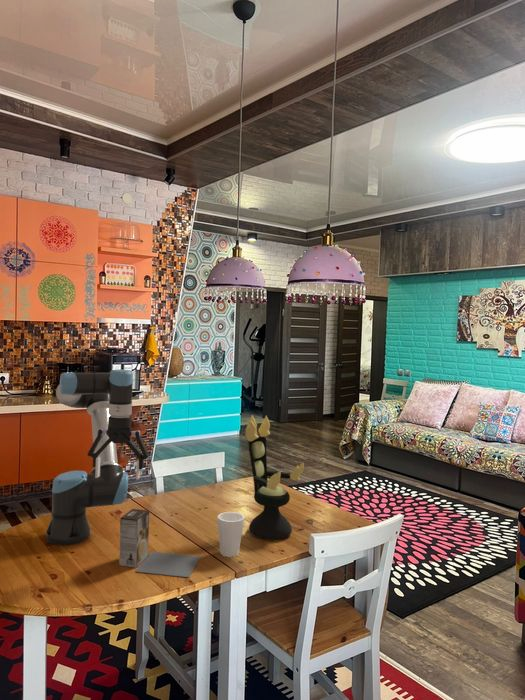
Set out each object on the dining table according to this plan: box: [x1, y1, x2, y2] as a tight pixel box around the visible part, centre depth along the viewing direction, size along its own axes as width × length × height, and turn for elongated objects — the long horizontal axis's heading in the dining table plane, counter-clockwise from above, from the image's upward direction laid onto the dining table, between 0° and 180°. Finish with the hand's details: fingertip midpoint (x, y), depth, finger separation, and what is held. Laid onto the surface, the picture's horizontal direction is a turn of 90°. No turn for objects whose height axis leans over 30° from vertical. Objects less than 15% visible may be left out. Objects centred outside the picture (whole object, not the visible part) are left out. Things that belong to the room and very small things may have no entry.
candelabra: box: [244, 414, 305, 541], centre depth 202 cm, size 19×22×45 cm
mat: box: [135, 551, 201, 578], centre depth 172 cm, size 18×15×1 cm
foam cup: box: [216, 511, 246, 558], centre depth 182 cm, size 10×9×13 cm
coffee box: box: [118, 508, 150, 569], centre depth 173 cm, size 9×6×16 cm
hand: (117, 477), depth 176 cm, fingers open, 13 cm apart
